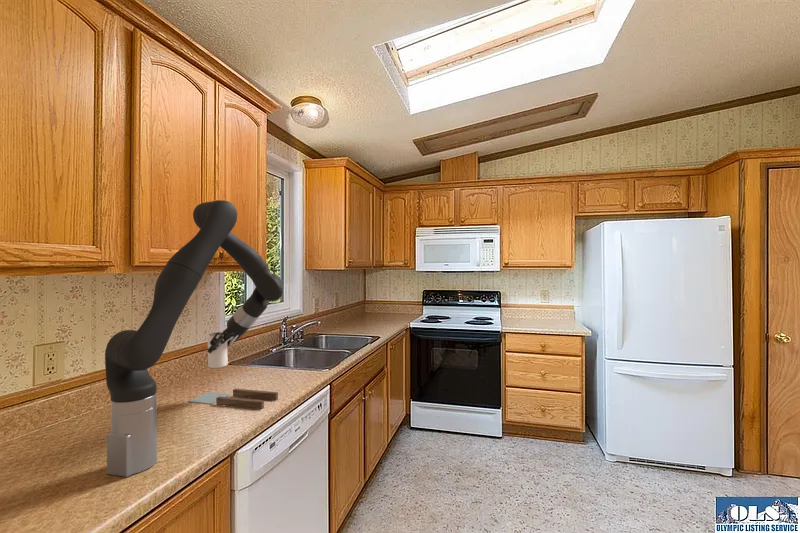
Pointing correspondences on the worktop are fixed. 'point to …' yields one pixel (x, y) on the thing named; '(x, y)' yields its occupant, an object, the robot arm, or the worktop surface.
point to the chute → (247, 402)
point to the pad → (208, 398)
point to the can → (217, 354)
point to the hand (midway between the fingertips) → (215, 350)
